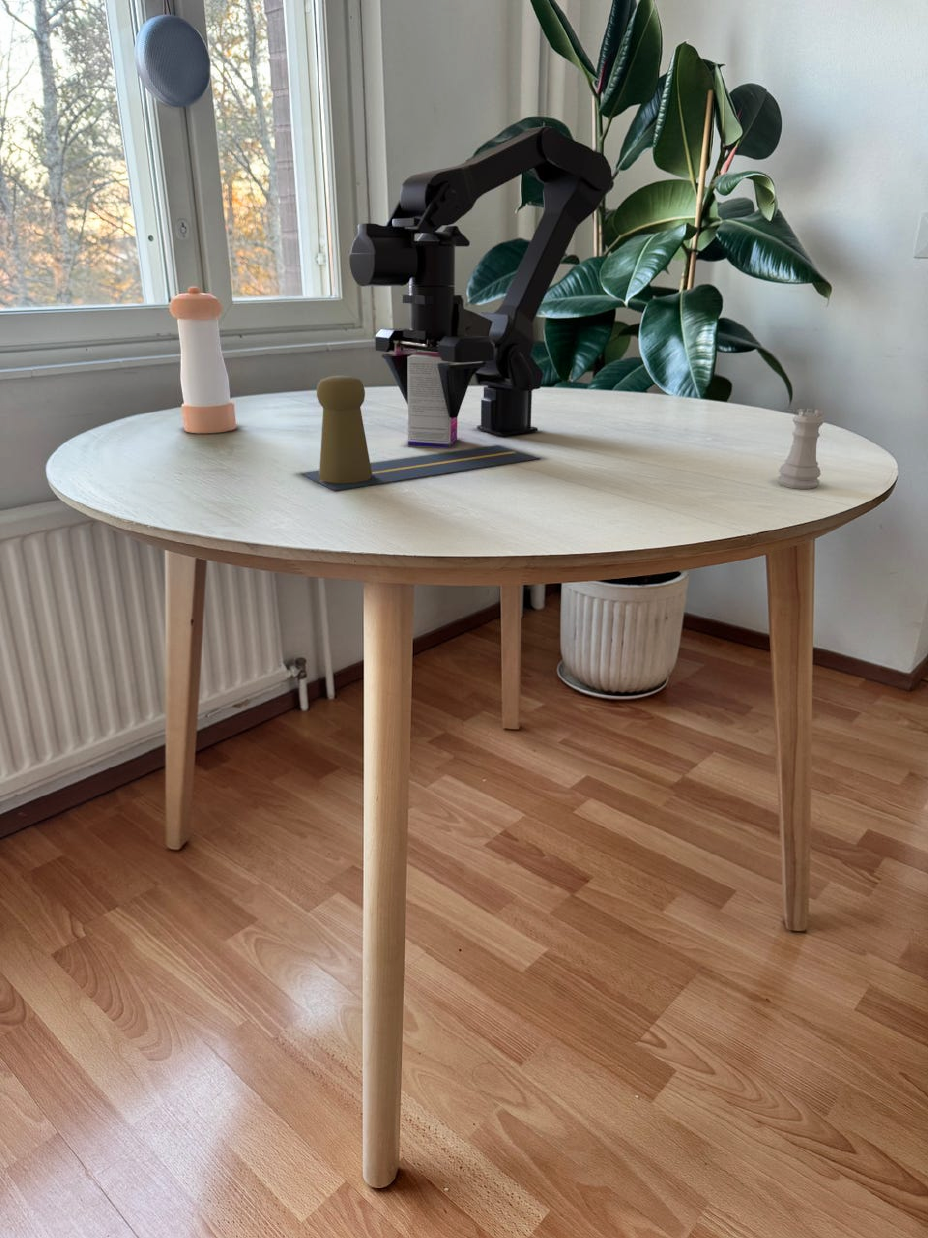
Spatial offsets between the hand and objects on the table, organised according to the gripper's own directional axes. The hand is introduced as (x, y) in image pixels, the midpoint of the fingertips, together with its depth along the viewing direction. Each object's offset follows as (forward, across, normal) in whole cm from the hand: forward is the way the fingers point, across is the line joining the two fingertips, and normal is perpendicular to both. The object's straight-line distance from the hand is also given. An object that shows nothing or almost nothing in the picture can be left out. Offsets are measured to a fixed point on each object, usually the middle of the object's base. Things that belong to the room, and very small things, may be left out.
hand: (432, 412), depth 110 cm
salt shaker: (+4, +28, +20) cm, 34 cm away
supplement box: (+4, 0, 0) cm, 4 cm away
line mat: (+4, -10, +9) cm, 14 cm away
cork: (+4, -9, +19) cm, 22 cm away
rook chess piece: (+4, -42, -19) cm, 47 cm away
